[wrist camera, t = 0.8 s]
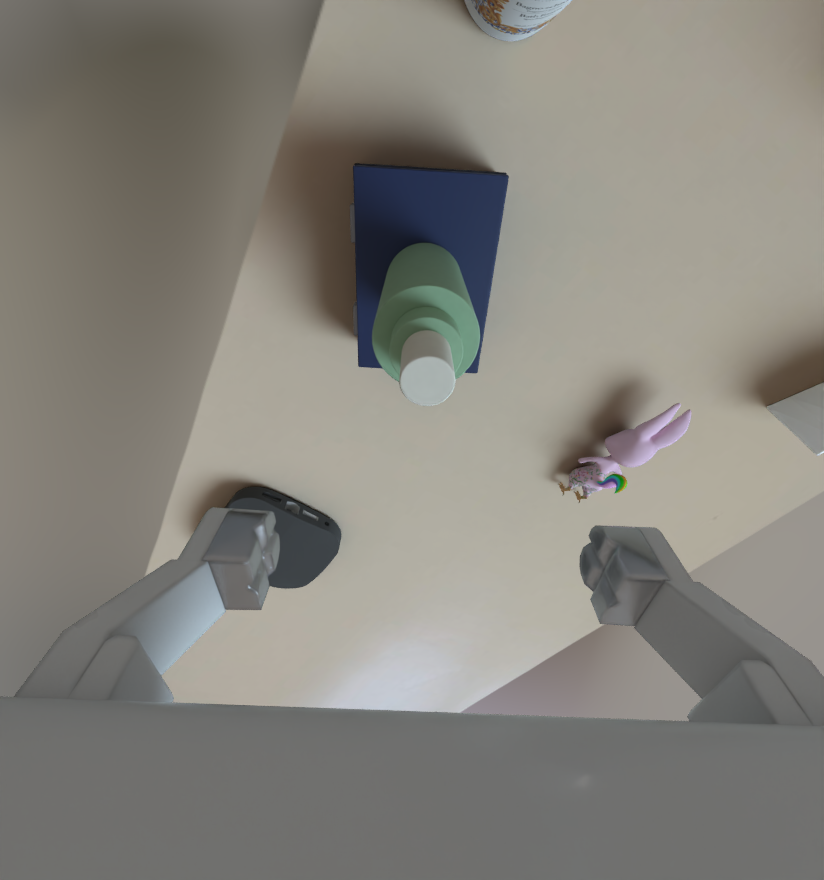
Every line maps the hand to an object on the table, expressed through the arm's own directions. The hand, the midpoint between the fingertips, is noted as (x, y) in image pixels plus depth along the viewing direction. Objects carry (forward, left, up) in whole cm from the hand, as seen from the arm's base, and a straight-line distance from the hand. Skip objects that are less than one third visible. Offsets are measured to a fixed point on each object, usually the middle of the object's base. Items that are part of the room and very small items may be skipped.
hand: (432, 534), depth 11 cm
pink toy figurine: (+17, +22, -29) cm, 40 cm away
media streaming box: (+34, -17, -29) cm, 48 cm away
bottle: (0, 0, -24) cm, 24 cm away
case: (0, 0, -29) cm, 29 cm away
